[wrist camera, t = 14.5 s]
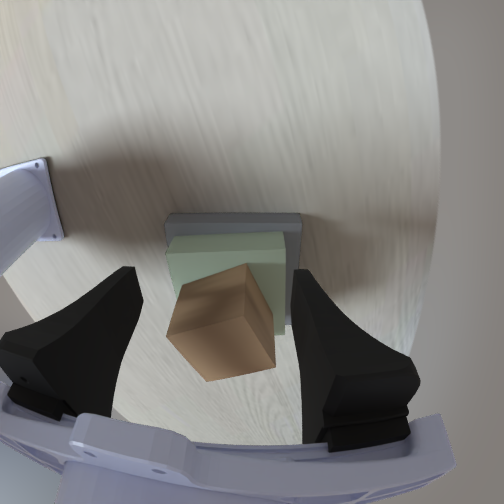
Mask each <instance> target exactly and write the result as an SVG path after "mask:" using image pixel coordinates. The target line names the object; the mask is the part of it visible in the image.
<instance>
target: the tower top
mask: <svg viewBox="0 0 504 504" xmlns="http://www.w3.org/2000/svg"><path fill="white" fill-rule="evenodd" d="M165 255H166V259H167V263H168V267H169V271H170V275H171V279H172V283H173V287H174V291H175V294H176V298H177V299H178V296H179V293H180V290H181V287H182V285H183V284H186V283H189V282H192V281H195V280H198V279H201V278H204V277H207V276H210V275H213V274H216V273H219V272H222V271H224V270H227V269H230V268H233V267H236V266H239V265H242V264H245V263H247V265H248V267H249V269H250V271H251V273H252V275H253V277H254V279H255V281H256V282H257V284H258V286H259V288H260V290H261V292H262V294H263V296H264V298H265V300H266V302H267V304H268V306H269V308H270V309H271V311H272V313H273V323H274V335H285V281H286V248H285V241H284V235H283V231H277V232H252V233H229V234H208V235H188V236H174V238H173V240H172V242H171V243H170V245H169V247H168V249H167V251H166V253H165Z"/></svg>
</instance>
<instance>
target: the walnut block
mask: <svg viewBox="0 0 504 504" xmlns="http://www.w3.org/2000/svg"><path fill="white" fill-rule="evenodd" d="M166 337H167V338H168V340H169V341H170V342H171V343H172V344H173V345H174V347H175V348H176V349H177V350H178V351H179V352H180V353H181V354H182V356H183V357H184V358H185V359H186V360H187V361H188V362H189V363H190V364H191V366H192V367H193V368H194V369H195V370H196V371H197V372H198V373H199V374H200V375H201V376H202V377H203V378H204V379H205V381H206V382H209V381H214V380H220V379H225V378H230V377H235V376H240V375H244V374H249V373H254V372H258V371H262V370H267V369H271V368H275V367H276V360H275V341H274V323H273V313H272V311H271V309H270V308H269V306H268V304H267V302H266V300H265V298H264V296H263V294H262V292H261V290H260V288H259V286H258V284H257V282H256V281H255V279H254V277H253V275H252V273H251V271H250V269H249V267H248V265H247V263H245V264H242V265H239V266H236V267H233V268H230V269H227V270H224V271H222V272H219V273H216V274H213V275H210V276H207V277H204V278H201V279H198V280H195V281H192V282H189V283H186V284H183V285H182V287H181V290H180V293H179V296H178V299H177V302H176V305H175V308H174V312H173V315H172V318H171V321H170V325H169V328H168V331H167V335H166Z"/></svg>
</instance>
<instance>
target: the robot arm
mask: <svg viewBox="0 0 504 504" xmlns="http://www.w3.org/2000/svg"><path fill="white" fill-rule="evenodd" d="M37 163H38V164H39V166H38V165H37ZM55 235H56V236H55ZM63 238H64V233H63V230H62V226H61V223H60V219H59V215H58V212H57V208H56V204H55V200H54V195H53V191H52V187H51V182H50V177H49V172H48V167H47V162H46V160H45V159H44V158H40V159H36V160H32V161H28V162H24V163H20V164H16V165H13V166H9V167H6V168H2V169H0V277H1V276H2V275H3V274H4V272H5V271H6V270H7V269H8V268H9V267H10V266H11V265H12V264H13V263H14V262H15V261H16V260H17V259H18V258H19V257H20V256H21V255H22V254H23V253H24V252H25V251H26V250H27V249H28V248H29V247H30V246H31V245H33V244H34V243H35V242H36V241H60V240H62V239H63ZM142 305H143V297H142V293H141V290H140V286H139V282H138V278H137V274H136V270H135V267H130V266H123V267H121V268H120V269H118V270H117V271H115V272H114V273H113V274H111V275H110V276H109V277H107V278H106V279H105V280H103V281H102V282H101V283H99V284H98V285H97V286H96V287H94V288H93V289H92V290H90V291H89V292H87V293H86V294H85V295H83V296H82V297H80V298H79V299H78V300H76V301H75V302H73V303H72V304H70V305H68V306H67V307H65V308H63V309H62V310H60V311H58V312H56V313H54V314H52V315H50V316H48V317H46V318H45V319H42V320H40V321H38V322H35V323H33V324H31V325H28V326H25V327H22V328H19V329H16V330H12V331H9V332H6V333H5V334H4V335H3V337H2V338H1V340H0V367H1V368H2V369H3V371H4V372H5V373H6V374H7V376H8V377H9V378H10V380H12V382H13V384H12V386H11V387H9V386H8V385H7V384H5V383H3V382H1V381H0V441H1V442H2V443H4V444H5V445H7V446H8V447H10V448H12V449H14V450H15V451H17V452H19V453H20V454H22V455H24V456H26V457H28V458H29V459H31V460H33V461H35V462H37V463H39V464H40V465H42V466H44V467H46V468H48V469H50V470H52V471H54V472H56V473H58V474H60V475H62V477H61V480H60V484H59V488H58V491H57V495H56V499H55V503H54V504H367V503H371V502H375V501H379V500H383V499H386V498H390V497H394V496H397V495H400V494H403V493H407V492H410V491H413V490H416V489H419V488H422V487H425V486H426V485H428V484H430V483H432V482H433V481H435V480H437V479H438V478H440V477H442V476H443V475H445V474H446V473H448V472H449V471H451V470H453V469H454V468H455V467H456V461H455V457H454V454H453V451H452V447H451V445H450V441H449V438H448V435H447V432H446V429H445V426H444V423H443V420H442V417H441V414H439V413H438V414H434V415H430V416H426V417H422V418H418V419H415V420H413V421H411V422H409V423H408V421H407V417H406V416H408V414H409V410H408V407H407V404H408V402H409V401H410V400H411V399H412V397H413V396H414V395H415V393H416V391H417V390H418V388H419V386H420V378H419V375H418V373H417V370H416V367H415V366H414V364H413V362H412V360H411V358H410V357H408V356H406V355H404V354H401V353H399V352H397V351H395V350H393V349H391V348H390V347H388V346H386V345H384V344H383V343H381V342H379V341H378V340H376V339H375V338H373V337H372V336H370V335H369V334H368V333H366V332H365V331H364V330H362V329H361V328H360V327H358V326H357V325H356V324H355V323H354V322H353V321H351V320H350V319H349V318H348V317H347V316H346V315H345V314H344V313H343V312H342V311H341V310H340V309H339V308H338V307H337V306H336V305H335V304H334V302H333V301H332V300H331V299H330V298H329V297H328V295H327V294H326V293H325V292H324V290H323V289H322V288H321V287H320V285H319V284H318V283H317V281H316V280H315V278H314V277H313V275H312V274H311V273H310V271H309V270H308V269H294V273H293V284H292V294H291V303H290V309H291V324H292V330H293V336H294V341H295V346H296V352H297V357H298V363H299V369H300V380H301V399H302V444H299V445H228V444H213V443H202V442H192V441H190V440H189V439H188V438H187V437H186V436H183V435H181V434H179V433H176V432H174V431H171V430H167V429H162V428H158V427H153V426H147V425H142V424H136V423H131V422H126V421H122V420H117V419H113V418H111V411H112V404H113V398H114V392H115V387H116V382H117V378H118V373H119V370H120V366H121V362H122V359H123V356H124V354H125V351H126V349H127V346H128V344H129V341H130V339H131V337H132V334H133V332H134V329H135V327H136V325H137V322H138V320H139V316H140V313H141V309H142Z"/></svg>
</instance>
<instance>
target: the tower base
mask: <svg viewBox="0 0 504 504" xmlns="http://www.w3.org/2000/svg"><path fill="white" fill-rule="evenodd" d="M164 227H165V233H166V239H167V245H168V247H169V245H170V243H171V242H172V240H173V238H174V236H188V235H208V234H229V233H252V232H277V231H283V235H284V241H285V248H286V281H285V325H292V324H291V309H290V303H291V294H292V284H293V273H294V269H298V268H299V257H300V246H301V234H302V221H301V217H300V214H299V213H181V214H170V215H169V217H168V218H167V220H166V221H165V223H164Z"/></svg>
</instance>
